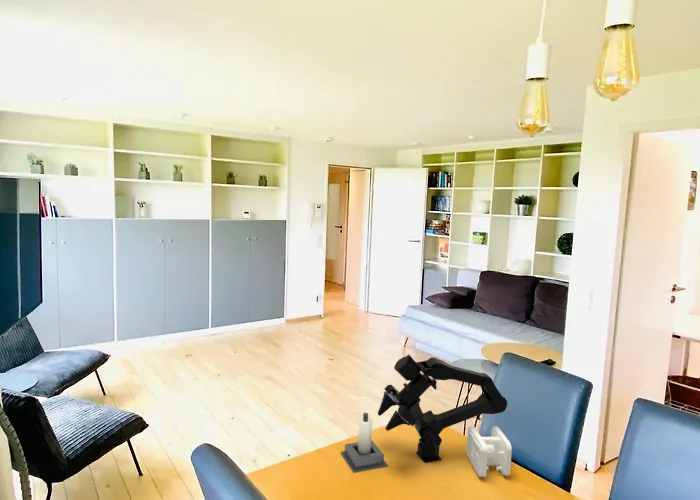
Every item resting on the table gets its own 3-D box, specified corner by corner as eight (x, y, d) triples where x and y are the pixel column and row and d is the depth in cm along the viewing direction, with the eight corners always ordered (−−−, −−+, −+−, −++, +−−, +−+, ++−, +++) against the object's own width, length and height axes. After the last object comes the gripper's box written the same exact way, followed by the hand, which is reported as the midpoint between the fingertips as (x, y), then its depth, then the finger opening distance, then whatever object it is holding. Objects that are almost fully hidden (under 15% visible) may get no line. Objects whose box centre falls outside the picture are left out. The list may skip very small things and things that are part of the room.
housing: (372, 447, 162) (373, 438, 162) (387, 466, 151) (388, 455, 151) (340, 453, 158) (341, 443, 158) (353, 472, 147) (354, 461, 147)
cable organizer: (511, 481, 146) (514, 446, 145) (478, 481, 145) (481, 446, 144) (494, 455, 161) (496, 423, 159) (464, 455, 160) (466, 423, 159)
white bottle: (370, 454, 157) (372, 410, 156) (371, 461, 152) (373, 417, 151) (356, 453, 157) (358, 410, 155) (357, 461, 152) (359, 416, 151)
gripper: (441, 417, 148) (406, 452, 148) (420, 389, 166) (389, 421, 166) (419, 397, 145) (384, 432, 145) (400, 371, 163) (369, 402, 163)
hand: (382, 422), depth 155 cm, fingers open, 9 cm apart
